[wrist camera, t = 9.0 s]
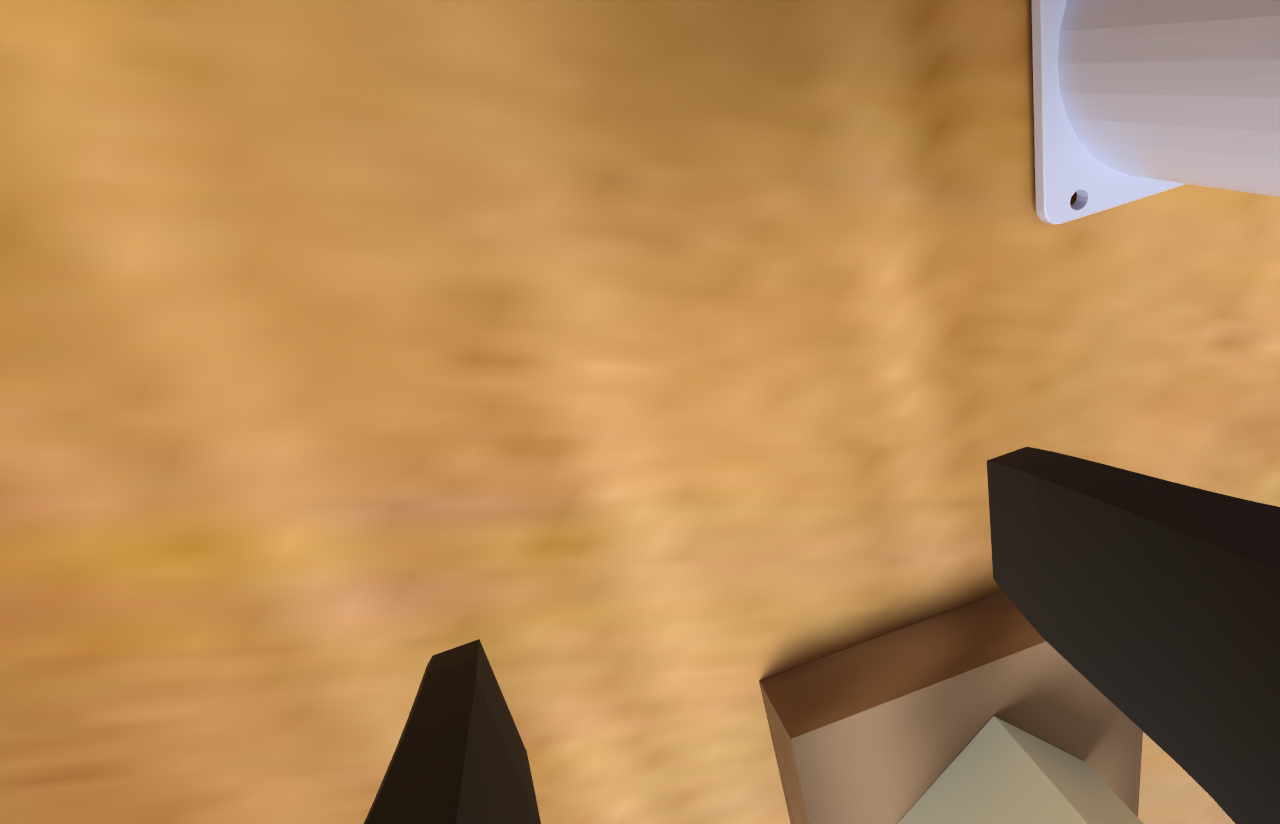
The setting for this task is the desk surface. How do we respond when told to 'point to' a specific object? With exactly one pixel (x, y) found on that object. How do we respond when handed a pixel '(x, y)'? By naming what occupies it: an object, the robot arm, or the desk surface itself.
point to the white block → (1017, 785)
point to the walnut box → (933, 713)
